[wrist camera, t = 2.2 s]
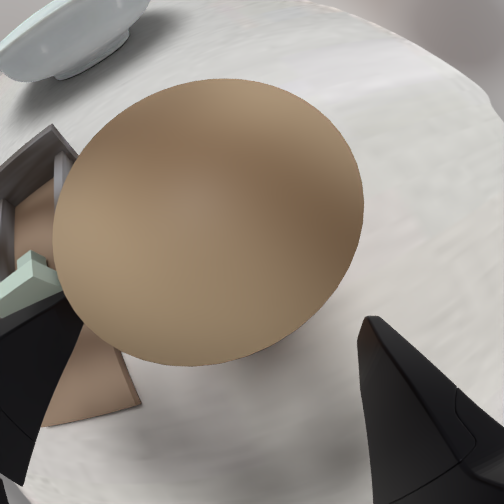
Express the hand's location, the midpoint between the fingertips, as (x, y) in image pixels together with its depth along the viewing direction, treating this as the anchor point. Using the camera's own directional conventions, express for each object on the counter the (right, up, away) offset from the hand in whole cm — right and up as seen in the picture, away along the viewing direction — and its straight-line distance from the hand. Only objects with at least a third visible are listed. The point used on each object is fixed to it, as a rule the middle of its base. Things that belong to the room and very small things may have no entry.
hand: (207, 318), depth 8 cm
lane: (-16, -1, +11) cm, 19 cm away
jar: (+1, -1, +10) cm, 10 cm away
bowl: (-27, +37, +25) cm, 52 cm away
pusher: (-16, -1, +10) cm, 19 cm away
